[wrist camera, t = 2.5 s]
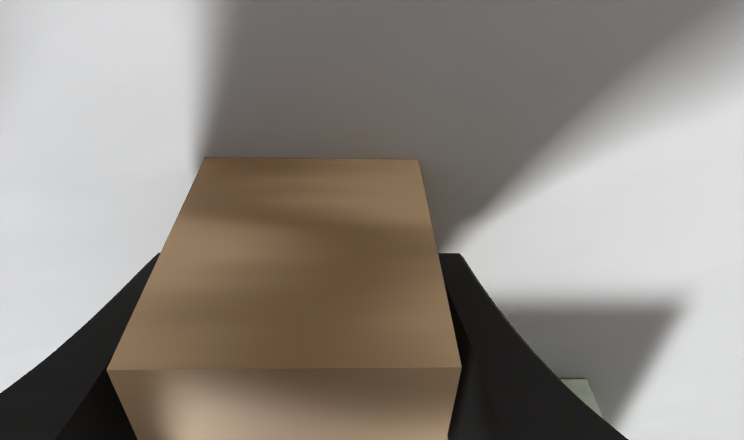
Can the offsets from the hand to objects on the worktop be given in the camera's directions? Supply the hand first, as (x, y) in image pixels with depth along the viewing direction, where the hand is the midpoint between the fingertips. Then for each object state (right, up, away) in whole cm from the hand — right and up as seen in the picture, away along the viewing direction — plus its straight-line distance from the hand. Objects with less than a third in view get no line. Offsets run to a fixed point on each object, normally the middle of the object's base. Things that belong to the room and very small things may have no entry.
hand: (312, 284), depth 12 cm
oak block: (0, +1, +1) cm, 2 cm away
